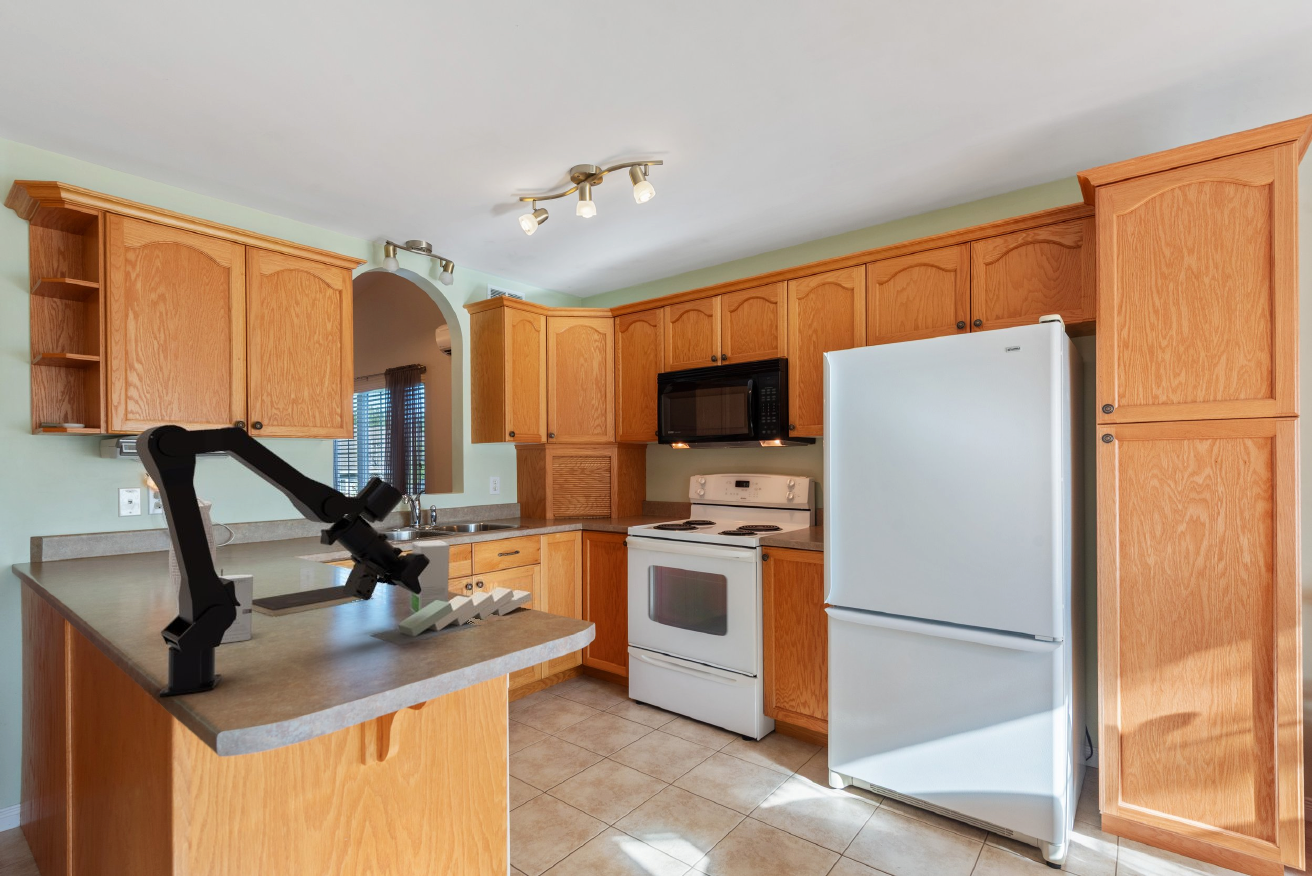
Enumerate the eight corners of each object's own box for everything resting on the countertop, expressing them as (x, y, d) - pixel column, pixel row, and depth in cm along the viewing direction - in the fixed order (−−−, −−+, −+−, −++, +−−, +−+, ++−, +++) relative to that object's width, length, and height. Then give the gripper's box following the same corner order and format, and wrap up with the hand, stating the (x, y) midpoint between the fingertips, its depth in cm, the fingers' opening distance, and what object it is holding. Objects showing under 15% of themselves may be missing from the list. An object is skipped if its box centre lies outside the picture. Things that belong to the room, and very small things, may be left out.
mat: (399, 647, 117) (399, 644, 117) (369, 637, 124) (369, 635, 124) (514, 618, 137) (514, 616, 137) (483, 611, 144) (483, 610, 144)
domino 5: (498, 608, 137) (530, 592, 144) (483, 605, 140) (516, 589, 147) (499, 616, 137) (532, 600, 144) (485, 613, 141) (517, 597, 147)
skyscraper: (186, 643, 122) (188, 494, 123) (156, 640, 124) (158, 494, 125) (229, 631, 130) (230, 492, 131) (200, 629, 132) (201, 492, 133)
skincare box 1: (213, 645, 120) (214, 579, 120) (214, 639, 124) (215, 576, 124) (252, 639, 123) (253, 575, 124) (252, 634, 127) (252, 572, 128)
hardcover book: (373, 601, 160) (373, 591, 160) (273, 619, 142) (273, 609, 142) (341, 593, 170) (341, 585, 170) (244, 610, 152) (244, 600, 152)
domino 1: (411, 628, 122) (450, 602, 128) (397, 624, 125) (436, 599, 131) (414, 636, 122) (453, 610, 129) (400, 632, 125) (439, 607, 132)
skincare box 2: (410, 611, 146) (410, 541, 146) (440, 607, 149) (440, 539, 150) (419, 618, 139) (419, 545, 139) (450, 613, 142) (450, 542, 143)
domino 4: (479, 612, 133) (511, 589, 140) (465, 609, 137) (497, 587, 143) (482, 620, 134) (514, 596, 140) (467, 616, 137) (500, 594, 144)
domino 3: (457, 617, 129) (491, 594, 136) (443, 614, 133) (477, 591, 139) (460, 625, 130) (494, 601, 136) (446, 622, 133) (480, 598, 140)
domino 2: (435, 623, 126) (471, 598, 132) (421, 619, 129) (457, 595, 135) (438, 630, 126) (474, 606, 133) (424, 627, 129) (460, 603, 136)
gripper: (308, 572, 119) (366, 621, 127) (357, 583, 107) (418, 635, 115) (351, 526, 125) (404, 575, 134) (401, 531, 114) (456, 584, 122)
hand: (419, 592), depth 126 cm, fingers closed
